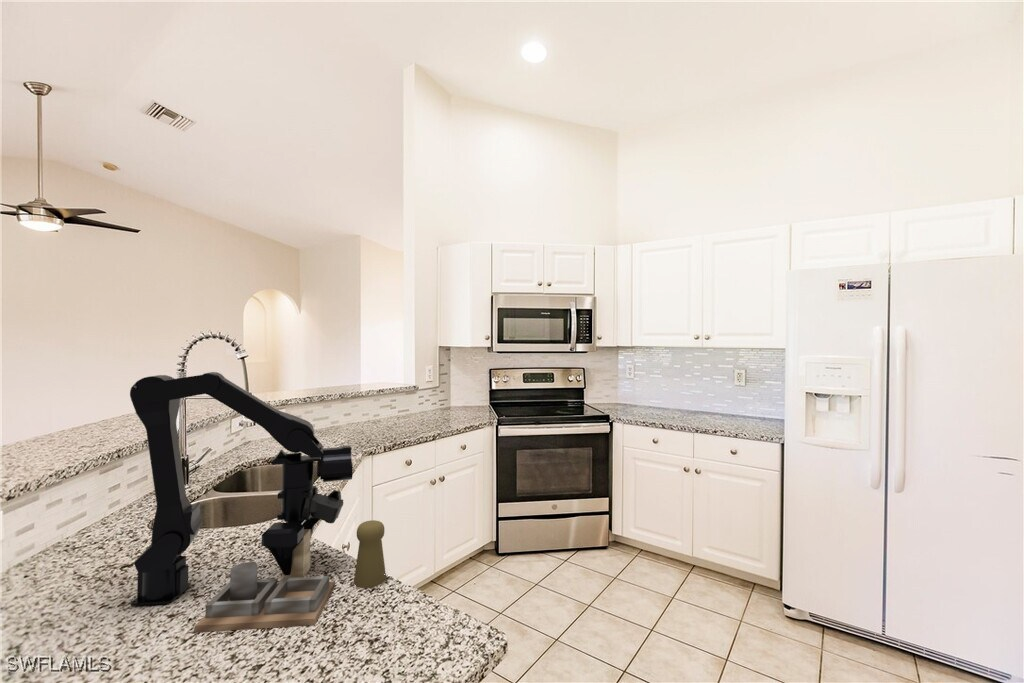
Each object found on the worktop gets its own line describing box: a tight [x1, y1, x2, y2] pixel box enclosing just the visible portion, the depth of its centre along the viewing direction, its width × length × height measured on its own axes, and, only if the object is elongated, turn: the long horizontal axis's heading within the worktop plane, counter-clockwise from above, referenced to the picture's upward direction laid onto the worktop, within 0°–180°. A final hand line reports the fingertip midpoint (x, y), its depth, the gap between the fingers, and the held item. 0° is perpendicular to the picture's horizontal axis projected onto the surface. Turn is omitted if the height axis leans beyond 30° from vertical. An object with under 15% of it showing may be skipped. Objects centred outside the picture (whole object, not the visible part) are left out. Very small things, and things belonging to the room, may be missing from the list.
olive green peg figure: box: [353, 519, 387, 589], centre depth 88 cm, size 6×6×11 cm
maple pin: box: [281, 529, 312, 581], centre depth 90 cm, size 4×4×8 cm
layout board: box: [194, 561, 336, 633], centre depth 78 cm, size 18×12×7 cm, turn 97°
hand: (296, 563), depth 90 cm, fingers open, 9 cm apart
